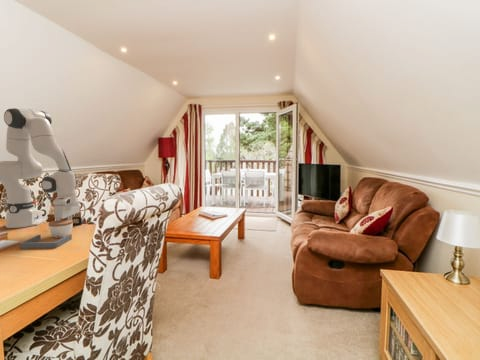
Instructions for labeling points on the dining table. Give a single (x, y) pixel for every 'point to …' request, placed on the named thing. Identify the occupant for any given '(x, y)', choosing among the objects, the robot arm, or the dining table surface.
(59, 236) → the lidded jar
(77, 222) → the ammunition clip
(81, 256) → the dining table surface
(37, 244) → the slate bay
